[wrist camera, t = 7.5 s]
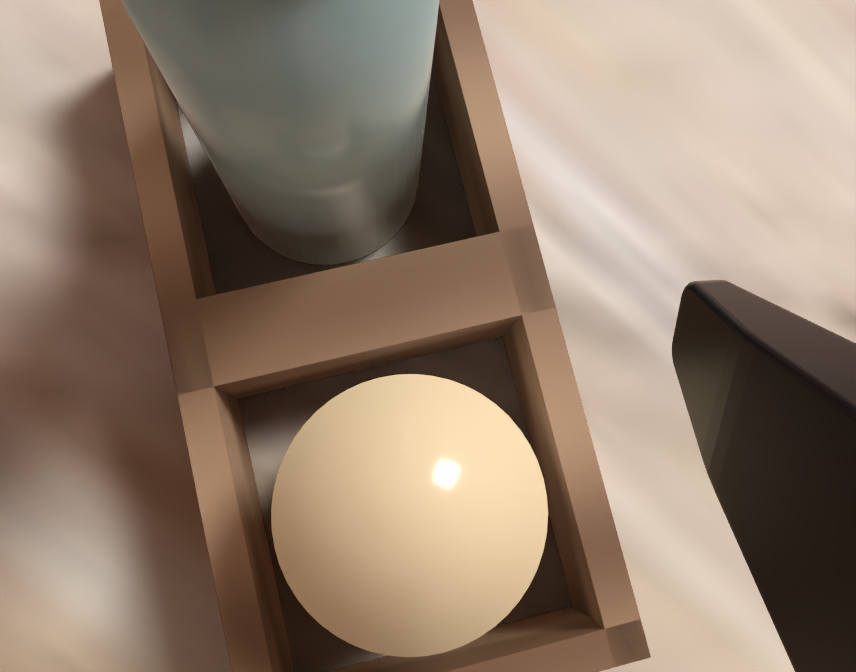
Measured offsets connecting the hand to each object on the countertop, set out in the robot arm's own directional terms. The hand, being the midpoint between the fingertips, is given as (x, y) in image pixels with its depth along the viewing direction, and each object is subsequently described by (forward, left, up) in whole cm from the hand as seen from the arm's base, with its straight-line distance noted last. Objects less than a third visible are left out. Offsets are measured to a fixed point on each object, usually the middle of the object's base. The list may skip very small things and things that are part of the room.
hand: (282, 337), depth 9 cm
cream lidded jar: (-2, -1, -12) cm, 12 cm away
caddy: (+2, -1, -12) cm, 12 cm away
